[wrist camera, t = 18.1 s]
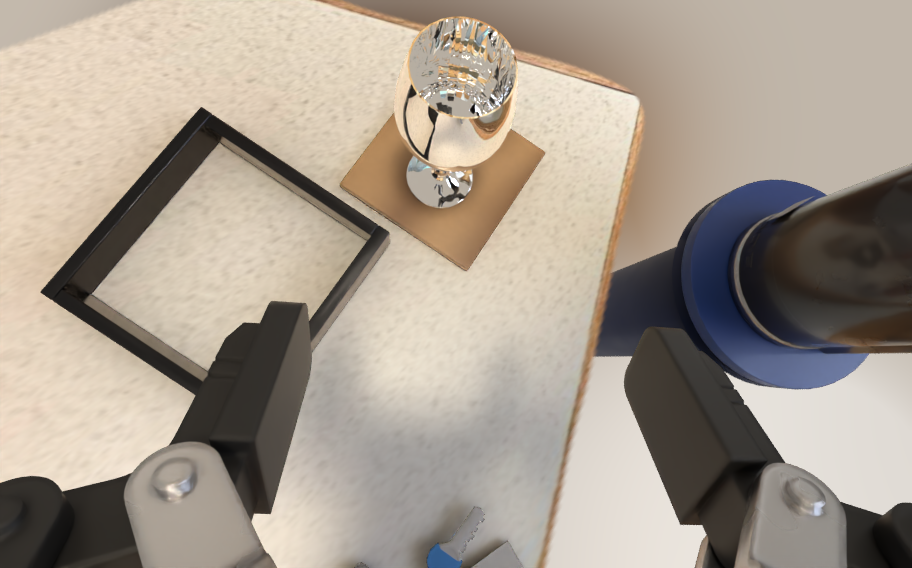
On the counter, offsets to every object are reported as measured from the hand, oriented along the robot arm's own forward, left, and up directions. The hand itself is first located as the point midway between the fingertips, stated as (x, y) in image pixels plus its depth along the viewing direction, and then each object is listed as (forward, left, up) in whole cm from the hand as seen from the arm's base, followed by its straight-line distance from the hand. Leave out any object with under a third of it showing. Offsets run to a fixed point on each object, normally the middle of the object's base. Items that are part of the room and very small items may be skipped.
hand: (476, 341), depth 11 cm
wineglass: (+6, -10, -19) cm, 22 cm away
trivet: (+6, -11, -19) cm, 23 cm away
